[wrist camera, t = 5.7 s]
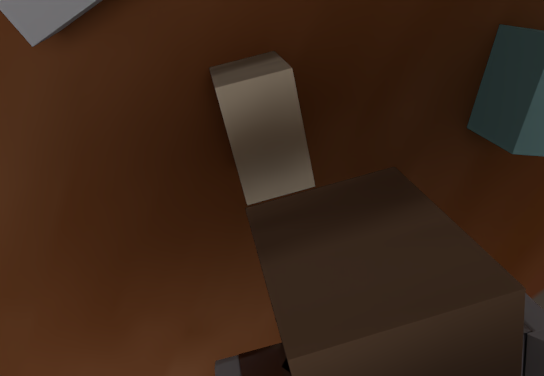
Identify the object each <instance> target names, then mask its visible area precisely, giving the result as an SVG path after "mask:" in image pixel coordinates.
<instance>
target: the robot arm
mask: <svg viewBox="0 0 544 376" xmlns="http://www.w3.org/2000/svg"><path fill="white" fill-rule="evenodd" d="M215 376H291V372H290V368H289V365H288V361H287V358H286V354H285V350H284V347H283V343H279V344H275V345H271V346H267V347H264V348H260V349H256V350H253V351H249V352H245V353H242V354H239V355H236V356H233V357H229V358H225V359H221V360H218V361H216V363H215ZM521 376H544V310H543V309H542V308H541V307H540V306H539V305H538V304H537V303H536V302H535V301H533V300H532V299H531V298H530V297H529V296H528V295H527V294H526V293H525V309H524V329H523V349H522V369H521Z"/></svg>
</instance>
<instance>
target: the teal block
mask: <svg viewBox="0 0 544 376" xmlns="http://www.w3.org/2000/svg"><path fill="white" fill-rule="evenodd" d="M467 128H468V129H470V130H471V131H473V132H475V133H477V134H478V135H480V136H482V137H484V138H485V139H487V140H489V141H491V142H492V143H494V144H496V145H497V146H499V147H501V148H503V149H504V150H506V151H508V152H510V153H511V154H518V155H531V156H544V31H543V30H536V29H529V28H522V27H515V26H508V25H501V24H500V25H499V28H498V31H497V34H496V37H495V41H494V44H493V47H492V50H491V53H490V56H489V59H488V62H487V66H486V69H485V72H484V75H483V78H482V81H481V84H480V87H479V91H478V94H477V97H476V100H475V103H474V106H473V109H472V113H471V116H470V119H469V122H468V125H467Z"/></svg>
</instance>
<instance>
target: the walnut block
mask: <svg viewBox="0 0 544 376" xmlns="http://www.w3.org/2000/svg"><path fill="white" fill-rule="evenodd" d="M245 209H246V213H247V216H248V220H249V224H250V227H251V231H252V235H253V238H254V242H255V245H256V249H257V253H258V256H259V260H260V264H261V267H262V271H263V275H264V278H265V282H266V285H267V289H268V293H269V296H270V300H271V304H272V307H273V311H274V315H275V318H276V322H277V326H278V329H279V333H280V336H281V340H282V343H283V347H284V350H285V354H286V358H287V361H288V365H289V368H290V372H291V376H521V369H522V349H523V329H524V309H525V289H526V288H524V287H523V286H522V285H521V284H520V283H519V282H518V281H517V280H516V279H515V278H514V277H513V276H512V275H510V274H509V273H508V272H507V271H506V270H505V269H504V268H503V267H502V266H501V265H500V264H499V263H498V262H497V261H495V260H494V259H493V258H492V257H491V256H490V255H489V254H488V253H487V252H486V251H485V250H484V249H483V248H481V247H480V246H479V245H478V244H477V243H476V242H475V241H474V240H473V239H472V238H471V237H470V236H469V235H467V234H466V233H465V232H464V231H463V230H462V229H461V228H460V227H459V226H458V225H457V224H456V223H455V222H454V221H452V220H451V219H450V218H449V217H448V216H447V215H446V214H445V213H444V212H443V211H442V210H441V209H440V208H438V207H437V206H436V205H435V204H434V203H433V202H432V201H431V200H430V199H429V198H428V197H427V196H426V195H424V194H423V193H422V192H421V191H420V190H419V189H418V188H417V187H416V186H415V185H414V184H413V183H412V182H411V181H409V180H408V179H407V178H406V177H405V176H404V175H403V174H402V173H401V172H400V171H399V170H398V169H397V168H395V167H391V168H388V169H384V170H381V171H377V172H373V173H370V174H366V175H363V176H359V177H355V178H352V179H348V180H345V181H341V182H337V183H334V184H330V185H327V186H323V187H319V188H316V189H312V190H309V191H305V192H301V193H298V194H294V195H291V196H287V197H283V198H280V199H276V200H273V201H269V202H265V203H262V204H258V205H254V206H251V207H247V208H245Z"/></svg>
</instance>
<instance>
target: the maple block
mask: <svg viewBox="0 0 544 376" xmlns="http://www.w3.org/2000/svg"><path fill="white" fill-rule="evenodd" d="M209 69H210V73H211V76H212V80H213V84H214V87H215V91H216V95H217V98H218V102H219V105H220V109H221V113H222V116H223V120H224V123H225V127H226V131H227V134H228V138H229V141H230V145H231V149H232V152H233V156H234V159H235V163H236V167H237V170H238V174H239V177H240V181H241V185H242V188H243V192H244V195H245V199H246V203H247V205H250V204H254V203H257V202H261V201H264V200H268V199H272V198H275V197H279V196H282V195H286V194H290V193H293V192H297V191H300V190H304V189H308V188H311V187H315V183H314V177H313V172H312V167H311V162H310V157H309V152H308V147H307V141H306V136H305V131H304V126H303V121H302V116H301V111H300V105H299V100H298V95H297V90H296V85H295V80H294V74H293V69H292V67H291V66H290V65H289V64H288V63H286V62H285V61H284V60H283V59H282V58H281V57H280V56H279V55H278V54H277V53H276V52H275V51H272V52H268V53H264V54H260V55H256V56H253V57H249V58H245V59H241V60H237V61H233V62H229V63H225V64H222V65H218V66H214V67H210V68H209Z"/></svg>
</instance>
